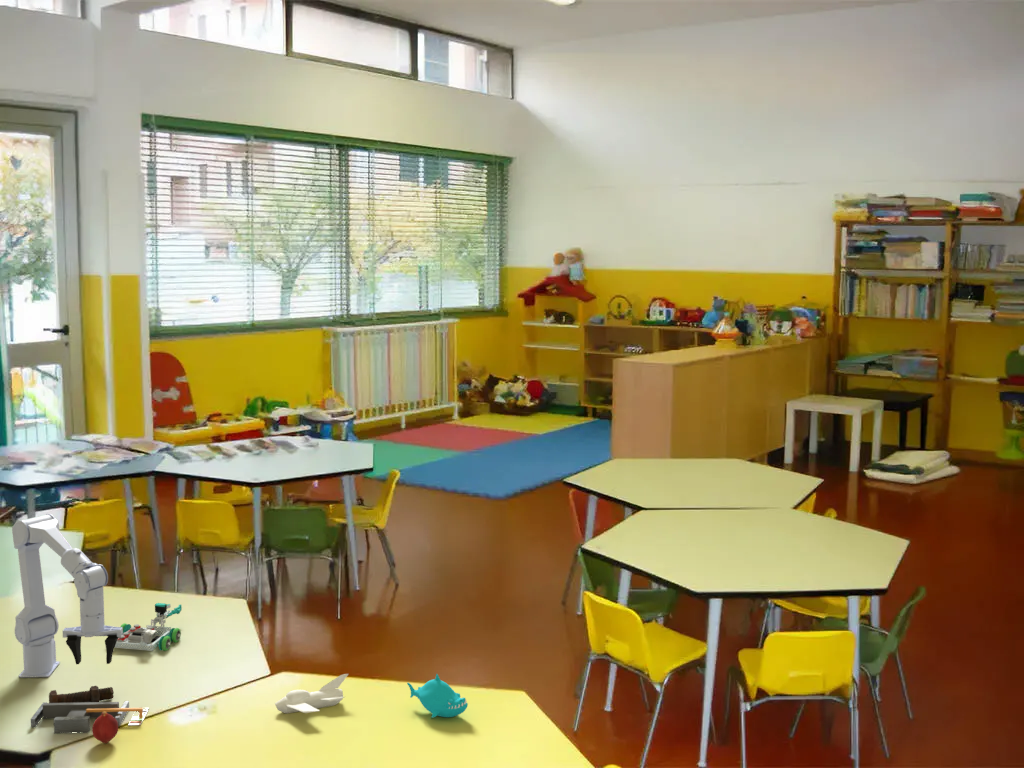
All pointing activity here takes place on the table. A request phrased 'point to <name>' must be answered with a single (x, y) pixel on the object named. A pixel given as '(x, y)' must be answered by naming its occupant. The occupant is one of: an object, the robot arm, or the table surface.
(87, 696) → the bolt
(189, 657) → the table surface
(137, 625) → the robot kit
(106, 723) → the onion
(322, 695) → the airplane model
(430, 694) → the toy shark
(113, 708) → the grey bar with rod
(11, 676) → the table surface
